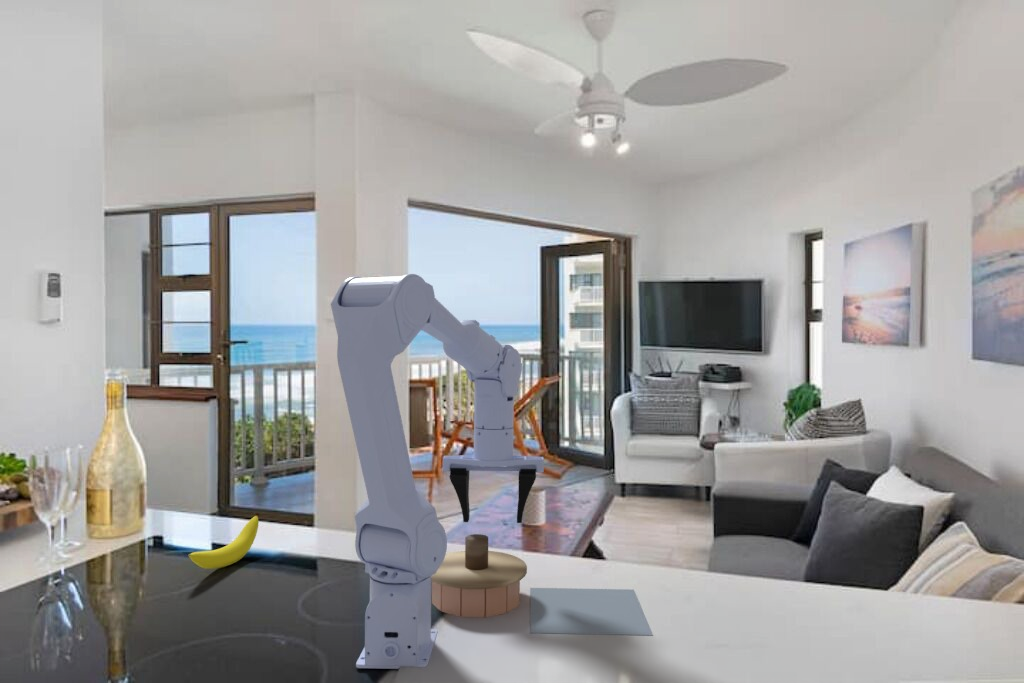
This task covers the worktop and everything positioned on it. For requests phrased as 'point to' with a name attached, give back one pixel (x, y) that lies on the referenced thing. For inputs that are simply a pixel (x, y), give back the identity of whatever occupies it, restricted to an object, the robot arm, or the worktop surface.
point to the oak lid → (479, 567)
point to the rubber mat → (587, 612)
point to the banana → (228, 548)
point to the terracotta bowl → (475, 600)
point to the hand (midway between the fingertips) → (492, 520)
